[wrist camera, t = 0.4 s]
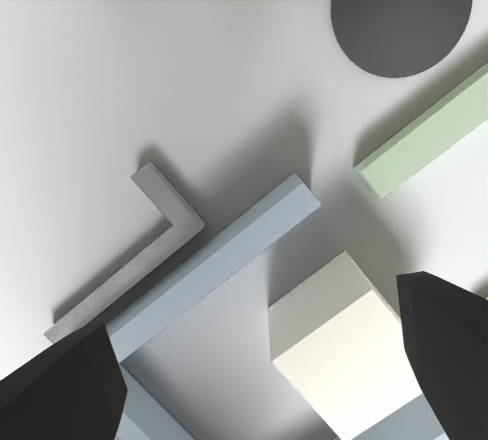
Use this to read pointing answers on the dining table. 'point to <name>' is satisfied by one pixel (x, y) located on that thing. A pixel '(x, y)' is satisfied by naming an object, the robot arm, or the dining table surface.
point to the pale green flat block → (427, 135)
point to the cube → (342, 348)
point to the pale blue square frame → (202, 283)
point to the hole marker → (398, 33)
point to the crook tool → (144, 262)
